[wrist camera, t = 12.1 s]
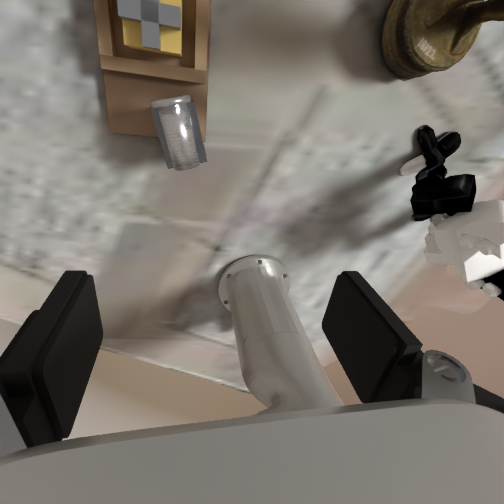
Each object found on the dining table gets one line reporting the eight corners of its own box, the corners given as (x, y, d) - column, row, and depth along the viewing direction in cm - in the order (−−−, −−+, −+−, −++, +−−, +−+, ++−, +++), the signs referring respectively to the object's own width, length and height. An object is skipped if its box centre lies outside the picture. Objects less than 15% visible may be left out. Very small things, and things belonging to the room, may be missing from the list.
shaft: (204, 150, 37) (208, 169, 29) (171, 156, 36) (165, 177, 29) (192, 91, 33) (192, 94, 25) (154, 97, 33) (143, 102, 25)
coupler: (182, -3, 28) (180, -22, 23) (181, 57, 31) (180, 52, 26) (128, -15, 27) (114, -37, 22) (132, 49, 29) (120, 42, 24)
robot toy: (467, 209, 50) (606, 275, 33) (393, 251, 52) (489, 333, 35) (452, 107, 40) (640, 126, 23) (362, 163, 42) (474, 218, 25)
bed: (204, 140, 36) (205, 144, 34) (111, 131, 34) (105, 135, 31) (215, -117, 25) (218, -138, 23) (80, -159, 23) (67, -186, 21)
